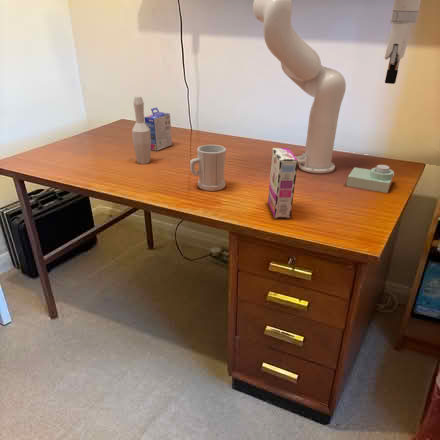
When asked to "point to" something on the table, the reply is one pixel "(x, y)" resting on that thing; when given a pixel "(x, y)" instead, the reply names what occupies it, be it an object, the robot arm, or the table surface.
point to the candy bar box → (282, 182)
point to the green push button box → (370, 179)
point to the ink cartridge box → (159, 129)
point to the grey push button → (382, 169)
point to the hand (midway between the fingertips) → (389, 83)
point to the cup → (210, 167)
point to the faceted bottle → (141, 133)
